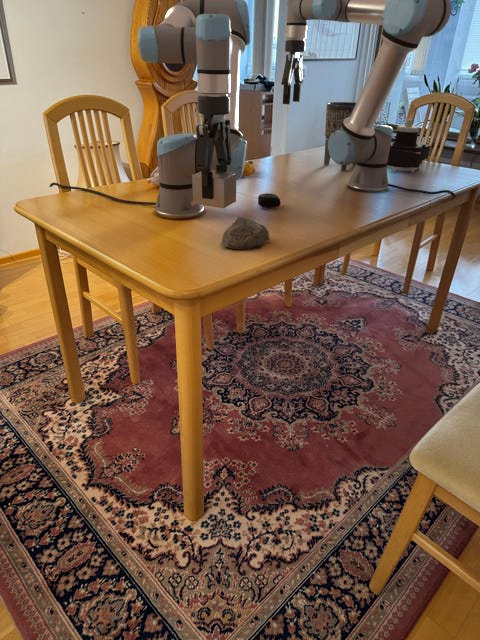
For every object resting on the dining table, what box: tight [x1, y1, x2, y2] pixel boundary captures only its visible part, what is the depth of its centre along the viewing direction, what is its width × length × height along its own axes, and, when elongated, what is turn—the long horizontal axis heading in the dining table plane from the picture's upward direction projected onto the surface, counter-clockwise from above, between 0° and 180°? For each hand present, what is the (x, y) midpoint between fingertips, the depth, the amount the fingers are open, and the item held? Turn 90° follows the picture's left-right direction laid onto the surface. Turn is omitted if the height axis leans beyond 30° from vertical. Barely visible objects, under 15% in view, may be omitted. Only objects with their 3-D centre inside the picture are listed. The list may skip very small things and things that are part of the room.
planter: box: [323, 101, 357, 172], centre depth 204 cm, size 20×20×26 cm
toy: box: [241, 160, 256, 178], centre depth 191 cm, size 11×6×15 cm
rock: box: [221, 216, 270, 250], centre depth 119 cm, size 13×9×6 cm, turn 131°
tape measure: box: [257, 192, 281, 209], centre depth 151 cm, size 7×7×4 cm
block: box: [192, 170, 237, 209], centre depth 115 cm, size 7×9×7 cm
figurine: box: [145, 166, 159, 186], centre depth 170 cm, size 8×15×13 cm, turn 145°
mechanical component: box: [386, 118, 432, 173], centre depth 206 cm, size 22×21×30 cm
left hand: (214, 194), depth 116 cm, fingers closed on block, 7 cm apart
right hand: (291, 103), depth 179 cm, fingers open, 13 cm apart
